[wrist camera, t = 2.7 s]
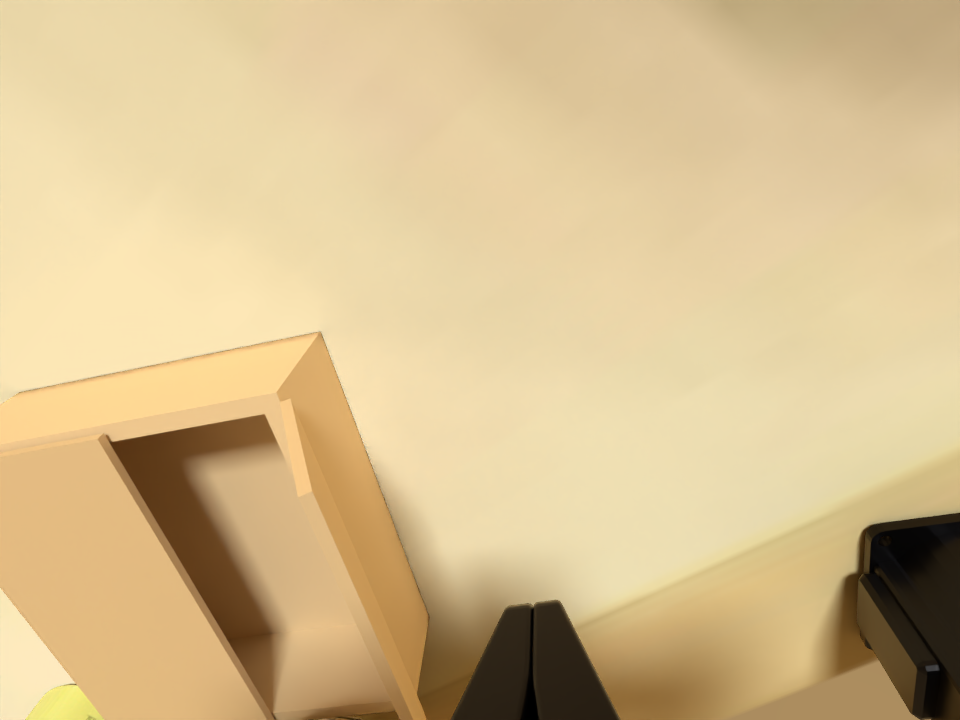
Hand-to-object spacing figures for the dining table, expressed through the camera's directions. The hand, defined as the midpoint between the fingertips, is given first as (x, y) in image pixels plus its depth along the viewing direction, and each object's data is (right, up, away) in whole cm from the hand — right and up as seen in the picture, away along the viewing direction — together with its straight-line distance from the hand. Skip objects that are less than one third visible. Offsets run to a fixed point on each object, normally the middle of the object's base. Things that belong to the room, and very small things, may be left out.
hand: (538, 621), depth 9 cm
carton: (-11, -2, +15) cm, 19 cm away
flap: (-4, -4, +8) cm, 10 cm away
